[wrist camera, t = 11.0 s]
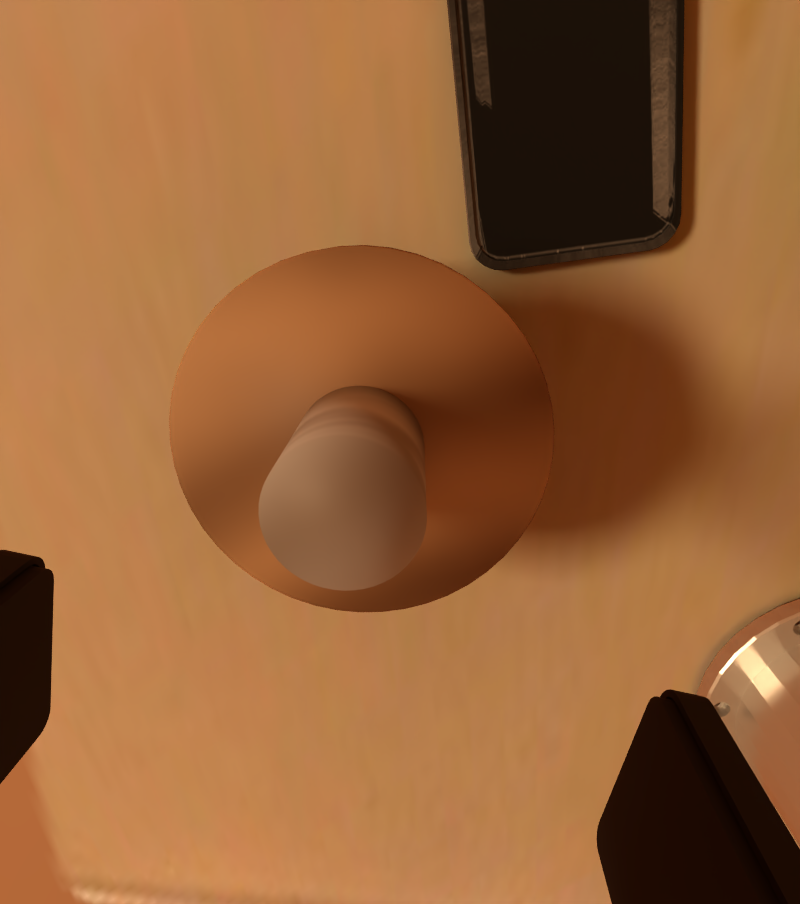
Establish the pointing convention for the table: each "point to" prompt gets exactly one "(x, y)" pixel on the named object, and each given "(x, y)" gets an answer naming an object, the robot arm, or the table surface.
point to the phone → (568, 126)
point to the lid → (361, 428)
